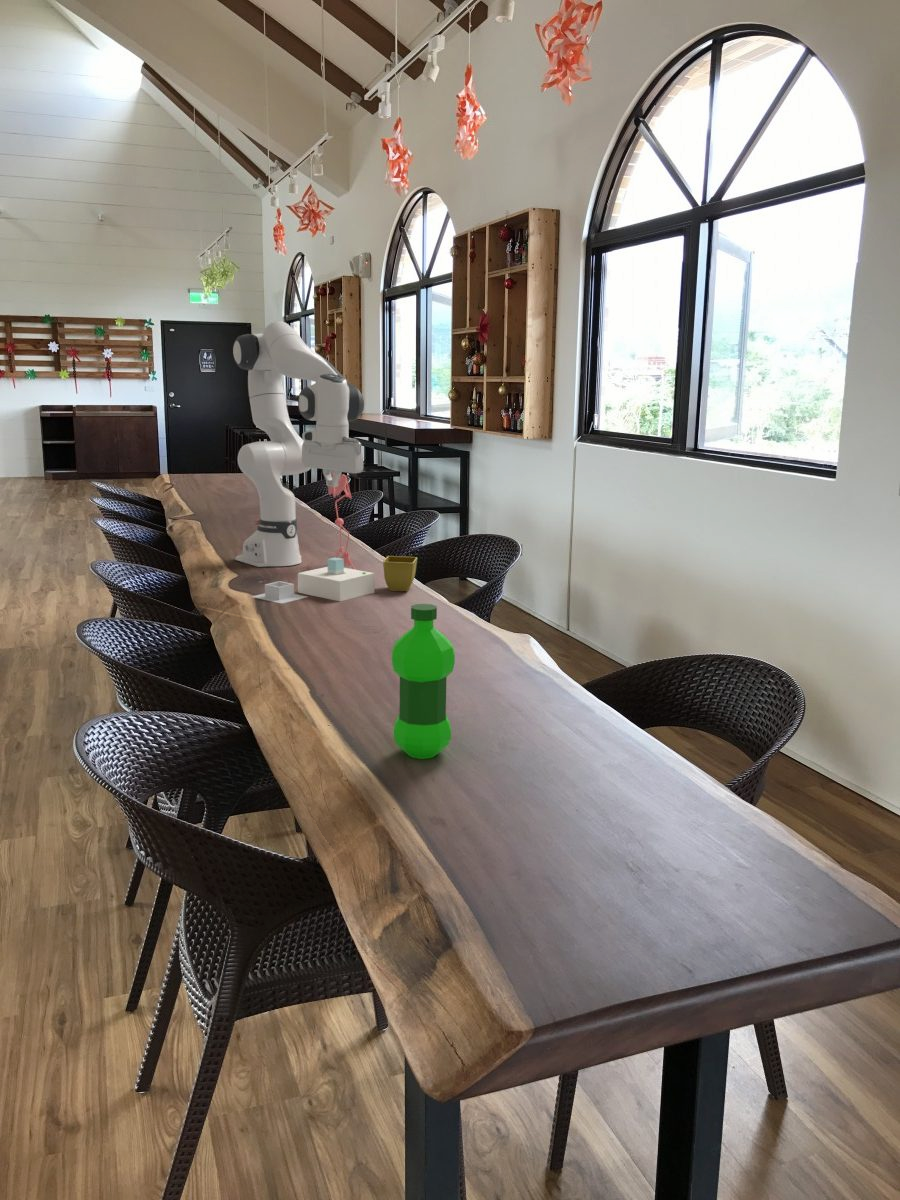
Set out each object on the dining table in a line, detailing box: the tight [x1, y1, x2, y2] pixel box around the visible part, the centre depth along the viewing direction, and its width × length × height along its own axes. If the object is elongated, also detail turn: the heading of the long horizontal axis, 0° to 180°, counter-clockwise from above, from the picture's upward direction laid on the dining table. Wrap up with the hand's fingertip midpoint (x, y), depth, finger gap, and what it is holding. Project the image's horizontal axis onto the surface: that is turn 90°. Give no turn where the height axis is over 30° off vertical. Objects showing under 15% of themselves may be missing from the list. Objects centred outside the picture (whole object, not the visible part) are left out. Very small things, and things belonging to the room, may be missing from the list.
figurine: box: [327, 470, 356, 570], centre depth 298 cm, size 15×26×35 cm, turn 16°
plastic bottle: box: [391, 603, 456, 760], centre depth 156 cm, size 10×10×25 cm
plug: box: [326, 557, 345, 575], centre depth 267 cm, size 3×3×9 cm
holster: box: [250, 581, 308, 604], centre depth 261 cm, size 12×10×4 cm
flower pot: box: [382, 555, 418, 592], centre depth 274 cm, size 9×9×9 cm
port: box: [297, 566, 375, 602], centre depth 267 cm, size 16×14×6 cm
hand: (332, 486), depth 264 cm, fingers closed
